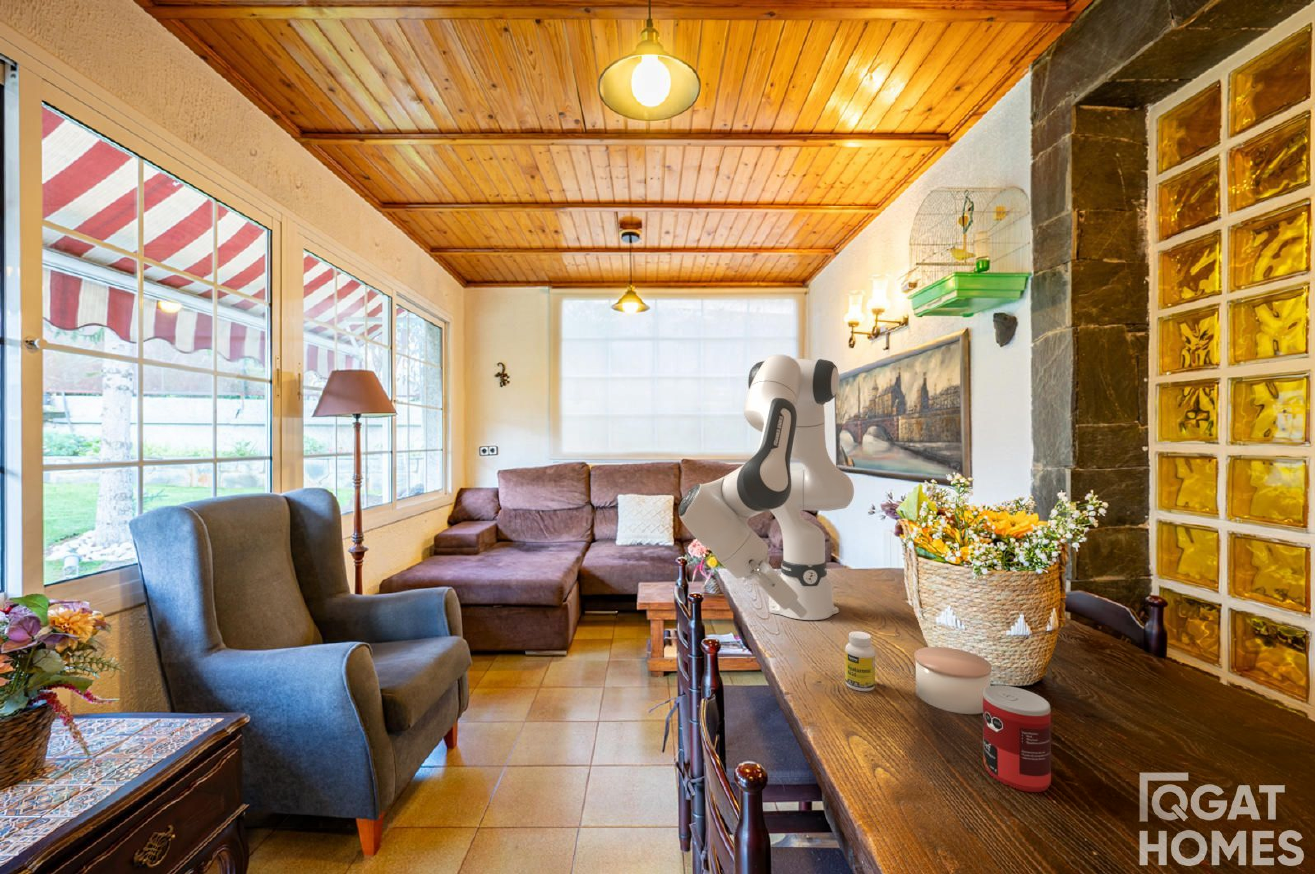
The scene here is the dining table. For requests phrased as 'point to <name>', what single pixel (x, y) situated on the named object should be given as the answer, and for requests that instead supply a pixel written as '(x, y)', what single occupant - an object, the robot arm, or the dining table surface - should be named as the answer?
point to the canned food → (1017, 737)
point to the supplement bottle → (860, 662)
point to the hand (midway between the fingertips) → (796, 606)
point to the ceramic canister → (951, 679)
